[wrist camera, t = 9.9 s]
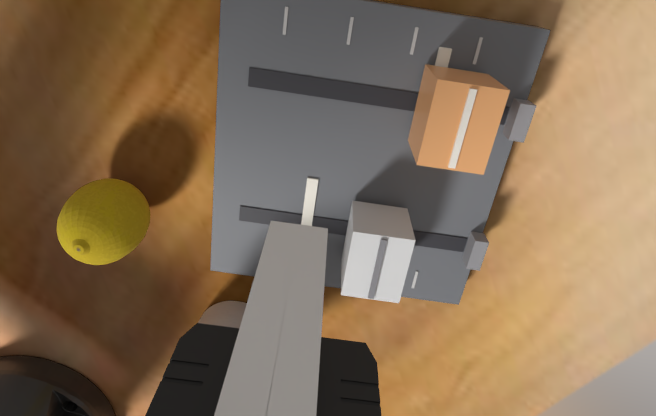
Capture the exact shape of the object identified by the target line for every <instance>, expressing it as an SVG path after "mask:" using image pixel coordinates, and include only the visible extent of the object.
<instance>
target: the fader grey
mask: <svg viewBox="0 0 656 416" xmlns="http://www.w3.org/2000/svg"><path fill="white" fill-rule="evenodd" d="M415 241H416V240H415V236H414V232H413V228H412V224H411V221H410V217H409V213H408V209H407V208H401V207H394V206H387V205H380V204H373V203H366V202H359V201H352V205H351V210H350V216H349V221H348V226H347V232H346V237H345V243H344V248H343V253H342V259H341V295H344V296H351V297H358V298H366V299H373V300H380V301H387V302H395V303H399V302H400V298H401V294H402V290H403V286H404V283H405V279H406V275H407V271H408V267H409V264H410V260H411V256H412V252H413V248H414V245H415Z"/></svg>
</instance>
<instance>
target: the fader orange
mask: <svg viewBox="0 0 656 416" xmlns="http://www.w3.org/2000/svg"><path fill="white" fill-rule="evenodd" d="M509 93H510V90H509V89H508V88H506V87H505V86H504V85H502V84H501V83H500V82H498V81H497V80H496V79H494V78H493V77H492V76H490V75H489V74H486V73H479V72H473V71H466V70H460V69H453V68H447V67H440V66H434V65H427V64H425V67H424V72H423V76H422V80H421V85H420V89H419V93H418V98H417V102H416V107H415V111H414V115H413V120H412V124H411V128H410V133H409V137H408V142H409V145H410V148H411V151H412V153H413V156H414V159H415V162H416V165H420V166H427V167H433V168H440V169H447V170H454V171H461V172H467V173H474V174H481V175H484V172H485V169H486V166H487V163H488V159H489V156H490V153H491V150H492V147H493V144H494V140H495V137H496V134H497V131H498V128H499V125H500V121H501V118H502V115H503V112H504V109H505V106H506V102H507V99H508V96H509Z"/></svg>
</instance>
